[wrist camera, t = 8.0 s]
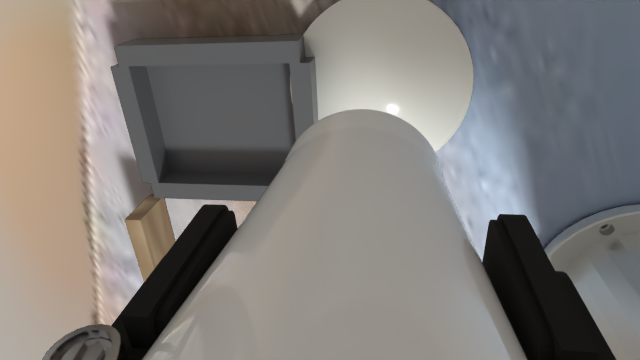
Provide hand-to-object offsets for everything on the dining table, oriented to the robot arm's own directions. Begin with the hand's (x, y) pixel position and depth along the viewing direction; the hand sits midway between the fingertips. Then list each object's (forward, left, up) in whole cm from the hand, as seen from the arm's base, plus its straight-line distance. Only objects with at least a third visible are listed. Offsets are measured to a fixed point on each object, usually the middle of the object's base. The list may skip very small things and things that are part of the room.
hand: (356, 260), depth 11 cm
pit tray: (+10, +2, -17) cm, 20 cm away
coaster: (0, 0, -17) cm, 17 cm away
